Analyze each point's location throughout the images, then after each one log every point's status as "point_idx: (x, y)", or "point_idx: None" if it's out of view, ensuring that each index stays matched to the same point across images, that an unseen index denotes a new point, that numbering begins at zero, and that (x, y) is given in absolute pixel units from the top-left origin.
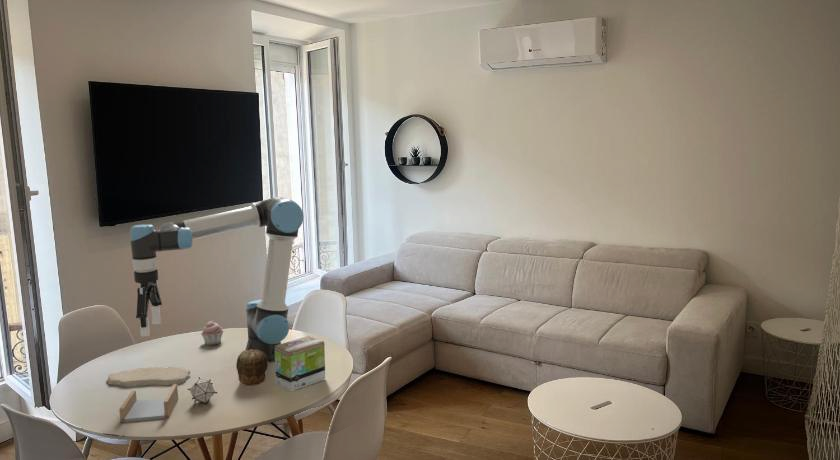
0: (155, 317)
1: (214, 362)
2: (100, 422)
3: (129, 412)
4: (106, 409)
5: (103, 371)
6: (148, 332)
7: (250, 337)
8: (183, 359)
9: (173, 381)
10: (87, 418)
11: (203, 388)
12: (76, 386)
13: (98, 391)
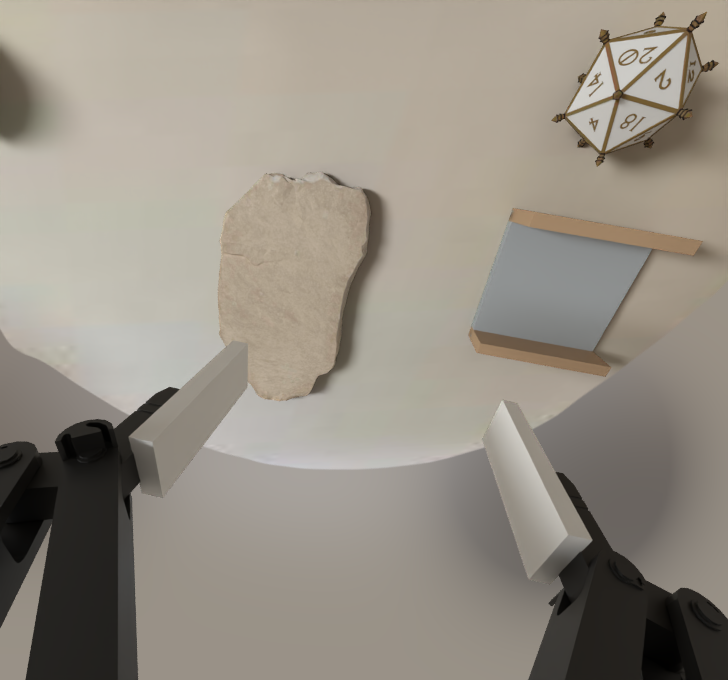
0: (223, 397)
1: (180, 65)
2: (548, 395)
3: (553, 342)
4: (472, 388)
5: None
6: (524, 422)
7: None
8: (140, 203)
9: (367, 230)
10: None
11: (693, 76)
12: (298, 446)
13: (345, 408)
